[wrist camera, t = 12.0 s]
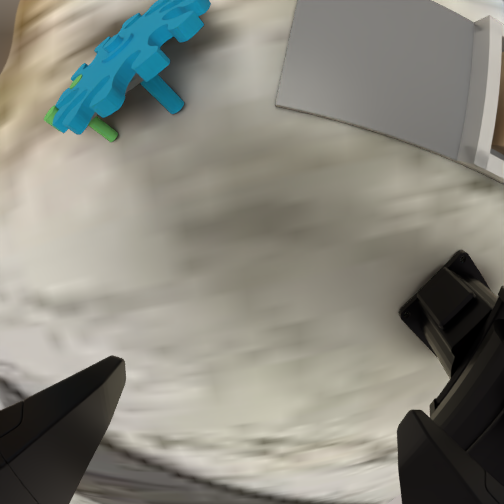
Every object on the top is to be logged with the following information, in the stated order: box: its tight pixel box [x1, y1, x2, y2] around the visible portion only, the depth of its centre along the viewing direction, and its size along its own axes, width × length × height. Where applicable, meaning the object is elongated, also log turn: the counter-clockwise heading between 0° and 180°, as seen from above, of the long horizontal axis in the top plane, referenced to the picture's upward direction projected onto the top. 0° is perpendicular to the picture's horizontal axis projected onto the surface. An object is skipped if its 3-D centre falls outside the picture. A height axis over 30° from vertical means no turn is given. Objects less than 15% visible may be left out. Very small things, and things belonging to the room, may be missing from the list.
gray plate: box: [275, 0, 504, 184], centre depth 13 cm, size 20×10×3 cm, turn 79°
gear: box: [44, 0, 211, 142], centre depth 15 cm, size 11×6×10 cm
